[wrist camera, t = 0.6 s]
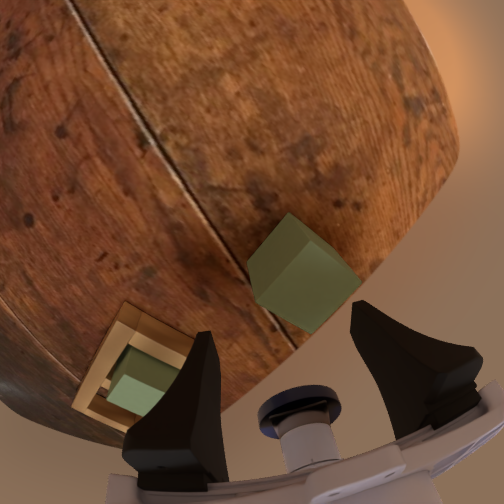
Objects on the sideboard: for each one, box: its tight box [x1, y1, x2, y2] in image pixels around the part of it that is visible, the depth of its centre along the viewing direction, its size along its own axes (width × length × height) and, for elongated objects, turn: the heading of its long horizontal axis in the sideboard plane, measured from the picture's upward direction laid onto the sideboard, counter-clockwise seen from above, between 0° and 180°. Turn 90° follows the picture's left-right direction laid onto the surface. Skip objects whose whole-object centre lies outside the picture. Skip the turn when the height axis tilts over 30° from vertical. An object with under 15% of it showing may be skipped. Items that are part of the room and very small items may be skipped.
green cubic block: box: [106, 344, 180, 417], centre depth 21 cm, size 5×5×5 cm
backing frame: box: [71, 301, 194, 432], centre depth 23 cm, size 9×16×2 cm, turn 141°
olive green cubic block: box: [247, 212, 362, 334], centre depth 18 cm, size 5×5×5 cm
